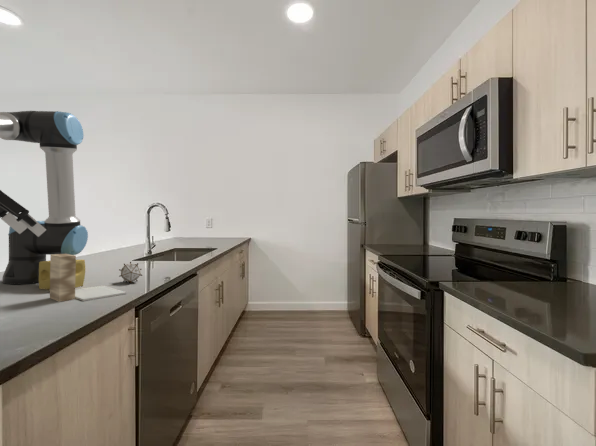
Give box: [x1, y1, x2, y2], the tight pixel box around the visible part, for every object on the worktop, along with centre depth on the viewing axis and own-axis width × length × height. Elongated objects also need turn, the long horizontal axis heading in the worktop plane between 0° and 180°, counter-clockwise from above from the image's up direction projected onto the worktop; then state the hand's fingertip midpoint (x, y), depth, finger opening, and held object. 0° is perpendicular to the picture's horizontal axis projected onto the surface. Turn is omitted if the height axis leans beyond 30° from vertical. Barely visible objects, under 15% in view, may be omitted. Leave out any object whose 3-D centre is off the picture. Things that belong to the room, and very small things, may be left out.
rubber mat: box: [75, 285, 127, 302], centre depth 123 cm, size 14×16×1 cm
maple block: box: [49, 254, 77, 303], centre depth 115 cm, size 4×7×14 cm, turn 55°
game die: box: [118, 261, 143, 284], centre depth 143 cm, size 9×8×10 cm
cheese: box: [38, 259, 86, 291], centre depth 131 cm, size 10×11×10 cm
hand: (32, 232), depth 107 cm, fingers open, 12 cm apart
